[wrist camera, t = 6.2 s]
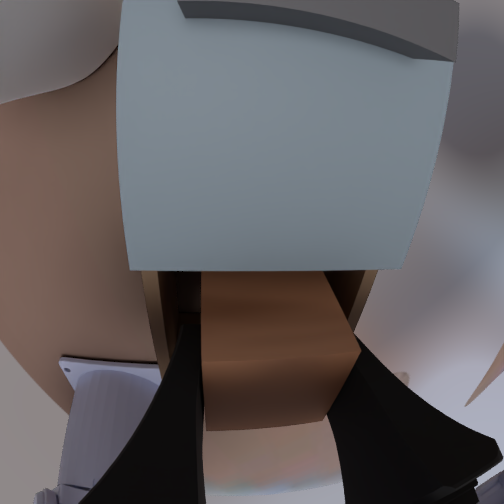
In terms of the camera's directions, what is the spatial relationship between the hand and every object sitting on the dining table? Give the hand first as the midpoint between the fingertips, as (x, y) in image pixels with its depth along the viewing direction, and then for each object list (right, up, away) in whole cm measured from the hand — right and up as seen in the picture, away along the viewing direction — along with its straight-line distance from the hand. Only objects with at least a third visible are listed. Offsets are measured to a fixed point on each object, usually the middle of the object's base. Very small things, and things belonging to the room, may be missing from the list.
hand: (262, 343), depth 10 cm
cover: (+1, +6, -3) cm, 7 cm away
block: (0, +1, +1) cm, 2 cm away
